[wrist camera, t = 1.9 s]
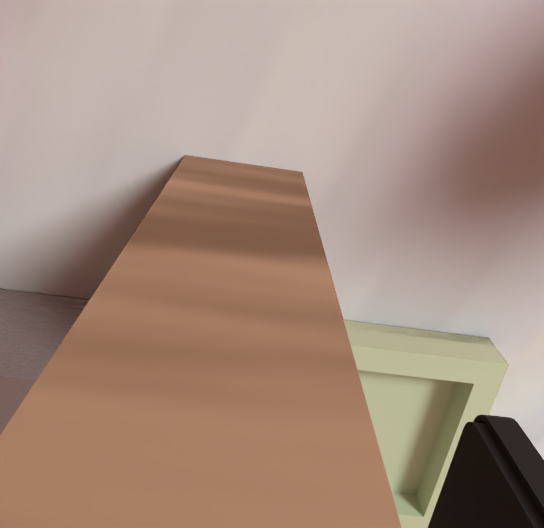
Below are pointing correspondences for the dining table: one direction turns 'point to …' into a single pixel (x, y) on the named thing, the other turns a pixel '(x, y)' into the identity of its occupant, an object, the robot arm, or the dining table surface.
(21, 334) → the block
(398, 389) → the holder tray
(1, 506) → the walnut peg
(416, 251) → the dining table surface
